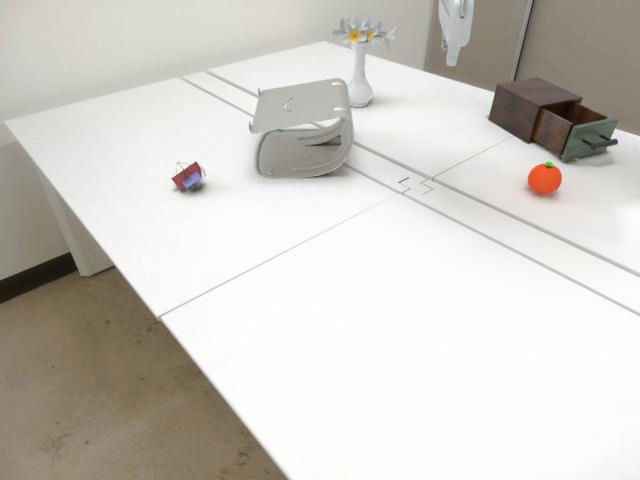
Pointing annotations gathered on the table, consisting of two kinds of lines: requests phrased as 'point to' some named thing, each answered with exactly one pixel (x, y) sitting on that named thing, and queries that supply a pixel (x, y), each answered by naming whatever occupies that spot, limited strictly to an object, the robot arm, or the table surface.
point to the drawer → (574, 130)
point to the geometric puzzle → (189, 176)
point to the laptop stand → (295, 147)
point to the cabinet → (526, 104)
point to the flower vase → (361, 54)
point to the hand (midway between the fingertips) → (448, 57)
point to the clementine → (544, 178)
